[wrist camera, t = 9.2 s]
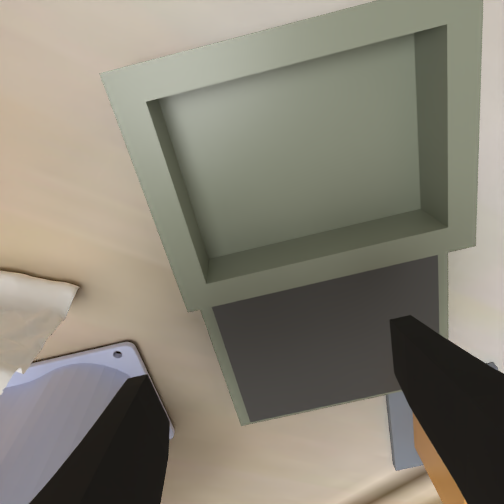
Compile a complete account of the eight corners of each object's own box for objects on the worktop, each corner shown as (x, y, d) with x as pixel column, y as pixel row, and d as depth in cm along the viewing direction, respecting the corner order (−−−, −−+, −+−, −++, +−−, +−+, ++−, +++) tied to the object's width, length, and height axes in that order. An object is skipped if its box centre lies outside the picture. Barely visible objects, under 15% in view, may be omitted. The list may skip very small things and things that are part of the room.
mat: (393, 464, 28) (396, 470, 27) (385, 386, 24) (387, 391, 24) (487, 444, 27) (492, 450, 27) (493, 362, 24) (497, 367, 24)
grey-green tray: (240, 410, 25) (242, 460, 21) (124, 73, 16) (99, 73, 13) (438, 367, 24) (470, 411, 21) (431, -7, 15) (484, -28, 12)
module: (414, 447, 26) (469, 555, 20) (411, 395, 24) (471, 500, 18) (471, 435, 26) (543, 541, 20) (473, 382, 24) (554, 483, 18)
